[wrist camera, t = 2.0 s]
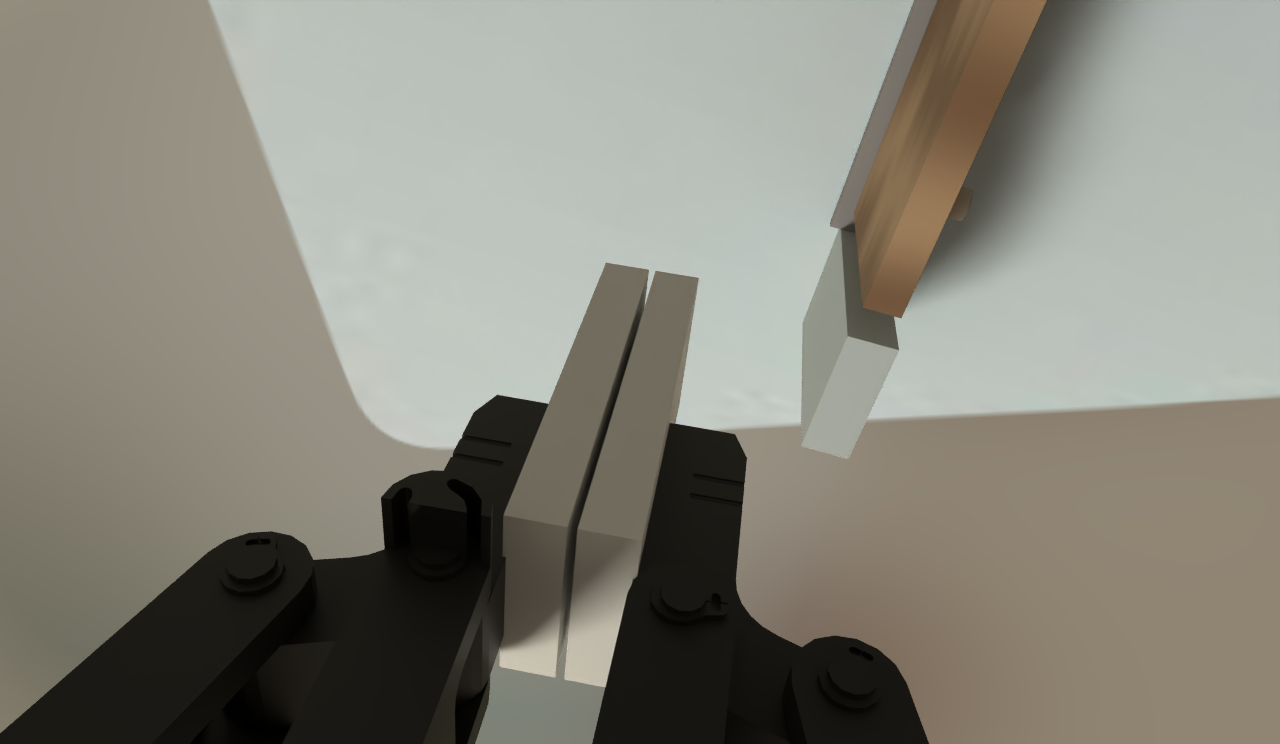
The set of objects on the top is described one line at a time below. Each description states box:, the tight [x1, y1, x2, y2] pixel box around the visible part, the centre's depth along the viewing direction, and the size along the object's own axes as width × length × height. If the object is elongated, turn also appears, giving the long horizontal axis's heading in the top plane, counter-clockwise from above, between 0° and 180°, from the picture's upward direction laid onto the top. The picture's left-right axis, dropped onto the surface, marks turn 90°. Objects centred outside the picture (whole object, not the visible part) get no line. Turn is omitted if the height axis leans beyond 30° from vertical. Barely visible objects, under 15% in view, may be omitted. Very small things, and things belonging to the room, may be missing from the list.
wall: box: [801, 0, 937, 459], centre depth 26 cm, size 26×2×8 cm, turn 167°
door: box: [854, 0, 1047, 318], centre depth 26 cm, size 14×2×8 cm, turn 167°
